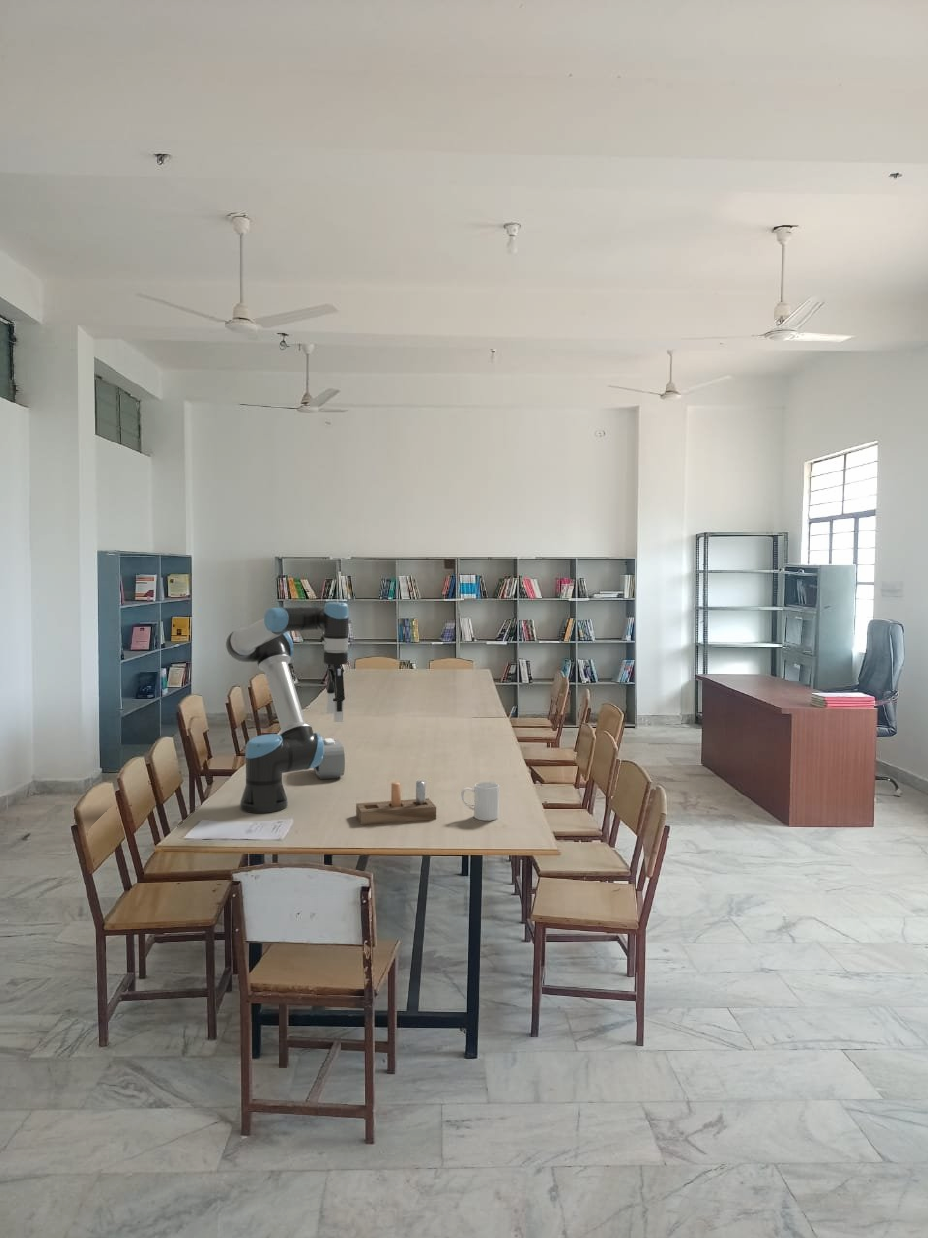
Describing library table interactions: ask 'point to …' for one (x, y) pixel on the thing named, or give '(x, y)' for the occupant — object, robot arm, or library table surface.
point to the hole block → (394, 812)
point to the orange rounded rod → (395, 794)
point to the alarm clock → (331, 760)
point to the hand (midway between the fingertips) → (334, 717)
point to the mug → (485, 801)
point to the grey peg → (420, 793)
